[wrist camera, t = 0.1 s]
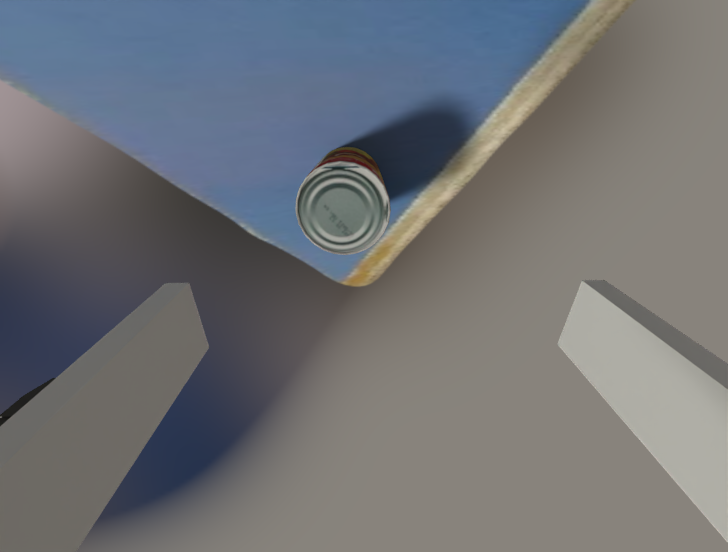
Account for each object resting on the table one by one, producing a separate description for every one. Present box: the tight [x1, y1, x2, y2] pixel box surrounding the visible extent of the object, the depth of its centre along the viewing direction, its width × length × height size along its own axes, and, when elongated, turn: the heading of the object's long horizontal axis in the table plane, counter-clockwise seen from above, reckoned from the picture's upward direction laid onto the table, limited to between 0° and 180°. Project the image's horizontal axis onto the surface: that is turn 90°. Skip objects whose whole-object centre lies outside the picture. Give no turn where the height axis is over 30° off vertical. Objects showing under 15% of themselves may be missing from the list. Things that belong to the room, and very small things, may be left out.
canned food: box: [296, 147, 391, 255], centre depth 30 cm, size 8×8×12 cm
